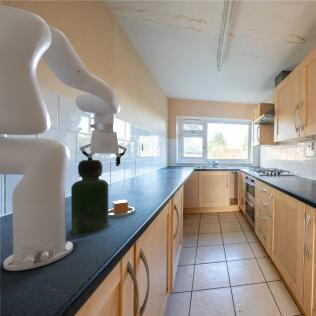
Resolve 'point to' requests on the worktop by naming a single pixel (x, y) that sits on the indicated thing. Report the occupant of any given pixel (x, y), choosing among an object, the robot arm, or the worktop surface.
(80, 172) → the dark green bottle
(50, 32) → the robot arm
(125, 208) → the cube
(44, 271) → the worktop surface
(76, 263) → the worktop surface
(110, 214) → the white plate
